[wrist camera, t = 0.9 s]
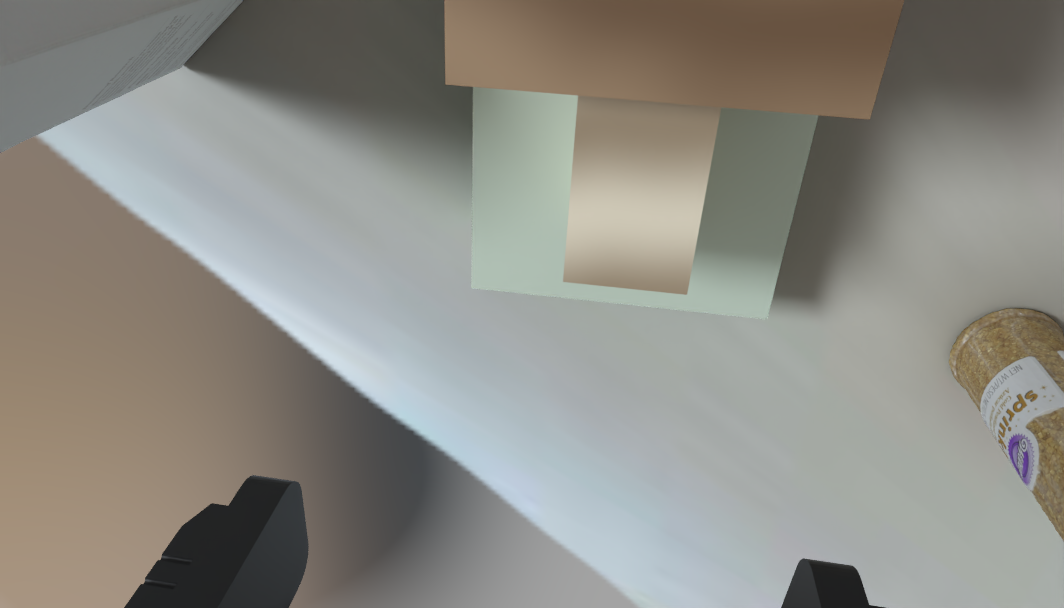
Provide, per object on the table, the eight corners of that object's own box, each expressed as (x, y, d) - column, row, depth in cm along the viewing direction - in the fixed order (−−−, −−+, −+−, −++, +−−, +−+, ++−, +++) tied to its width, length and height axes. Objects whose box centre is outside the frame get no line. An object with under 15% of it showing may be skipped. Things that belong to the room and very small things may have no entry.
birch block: (604, -129, 22) (596, -130, 18) (738, -121, 22) (762, -120, 17) (574, 219, 28) (563, 281, 24) (679, 229, 28) (687, 294, 23)
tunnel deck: (497, -460, 21) (401, -688, 12) (930, -452, 20) (1146, -694, 11) (484, 255, 33) (431, 387, 24) (756, 283, 32) (799, 430, 23)
